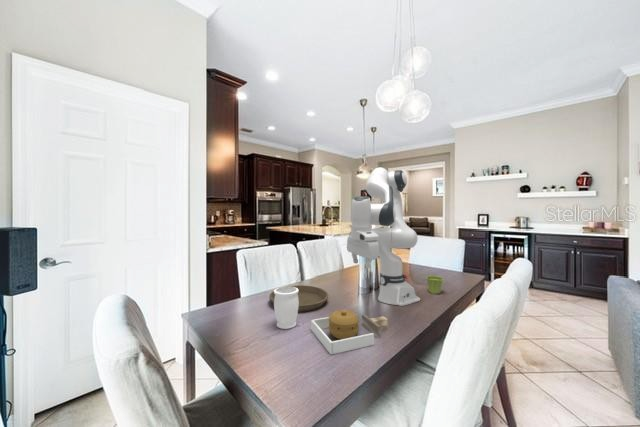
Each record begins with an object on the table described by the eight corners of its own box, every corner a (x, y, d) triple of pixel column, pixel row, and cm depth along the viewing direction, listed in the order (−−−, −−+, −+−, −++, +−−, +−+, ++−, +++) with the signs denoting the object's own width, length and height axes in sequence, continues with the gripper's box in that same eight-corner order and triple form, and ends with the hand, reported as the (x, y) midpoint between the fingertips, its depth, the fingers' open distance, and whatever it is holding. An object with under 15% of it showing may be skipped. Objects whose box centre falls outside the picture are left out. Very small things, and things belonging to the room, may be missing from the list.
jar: (291, 332, 105) (291, 295, 105) (269, 328, 109) (269, 292, 108) (302, 321, 115) (302, 287, 115) (281, 318, 118) (281, 285, 118)
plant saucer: (338, 308, 130) (338, 299, 130) (276, 318, 119) (276, 308, 119) (316, 290, 159) (316, 282, 159) (264, 296, 148) (264, 288, 148)
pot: (327, 329, 107) (327, 305, 107) (355, 328, 108) (355, 304, 108) (330, 344, 96) (330, 317, 96) (361, 343, 96) (361, 316, 96)
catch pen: (348, 322, 113) (348, 313, 113) (373, 344, 95) (374, 333, 95) (311, 329, 107) (311, 320, 107) (330, 354, 89) (330, 343, 89)
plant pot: (424, 293, 153) (424, 278, 153) (427, 289, 161) (428, 274, 160) (441, 296, 148) (441, 280, 147) (444, 291, 155) (444, 277, 155)
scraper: (377, 322, 114) (377, 312, 114) (394, 334, 103) (394, 323, 103) (361, 325, 112) (362, 314, 111) (378, 338, 100) (378, 326, 100)
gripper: (343, 231, 122) (343, 261, 123) (368, 237, 103) (368, 272, 104) (355, 230, 124) (355, 259, 125) (381, 236, 105) (381, 270, 106)
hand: (361, 265), depth 114 cm, fingers open, 8 cm apart
